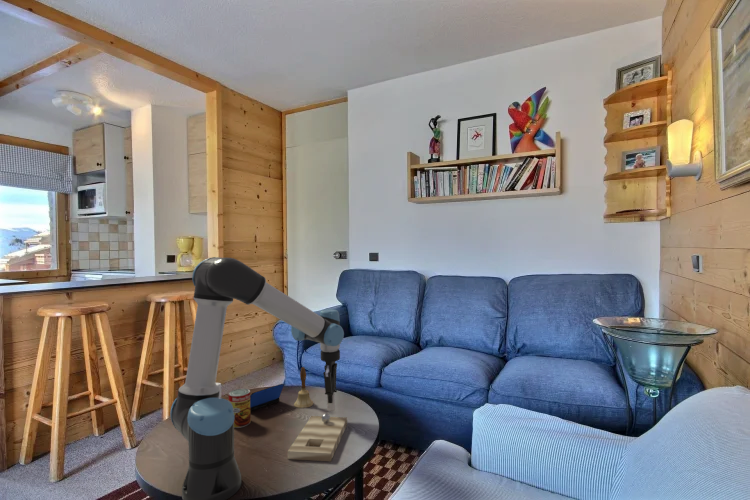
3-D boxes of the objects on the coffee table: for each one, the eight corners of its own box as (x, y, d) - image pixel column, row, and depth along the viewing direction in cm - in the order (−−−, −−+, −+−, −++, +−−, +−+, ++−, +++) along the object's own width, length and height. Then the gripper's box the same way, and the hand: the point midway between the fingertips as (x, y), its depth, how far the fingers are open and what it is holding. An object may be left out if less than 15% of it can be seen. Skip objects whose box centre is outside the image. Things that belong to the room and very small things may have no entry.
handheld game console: (268, 396, 175) (268, 376, 175) (285, 404, 166) (284, 383, 166) (236, 407, 164) (235, 385, 164) (251, 416, 155) (251, 393, 155)
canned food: (235, 429, 142) (235, 397, 142) (225, 423, 147) (224, 392, 147) (254, 422, 148) (254, 391, 148) (243, 417, 153) (243, 386, 153)
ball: (329, 424, 140) (328, 415, 140) (320, 424, 140) (320, 415, 140) (331, 420, 143) (331, 412, 143) (322, 420, 143) (322, 411, 143)
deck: (330, 461, 120) (330, 453, 120) (287, 459, 121) (287, 451, 121) (347, 424, 145) (347, 417, 145) (311, 422, 147) (311, 416, 147)
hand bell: (314, 406, 162) (313, 369, 162) (294, 409, 160) (293, 371, 160) (312, 399, 170) (311, 363, 170) (293, 401, 168) (292, 365, 168)
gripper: (335, 354, 143) (336, 417, 143) (343, 345, 156) (344, 403, 156) (316, 353, 144) (317, 416, 144) (325, 345, 157) (325, 403, 157)
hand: (331, 410), depth 150 cm, fingers closed
